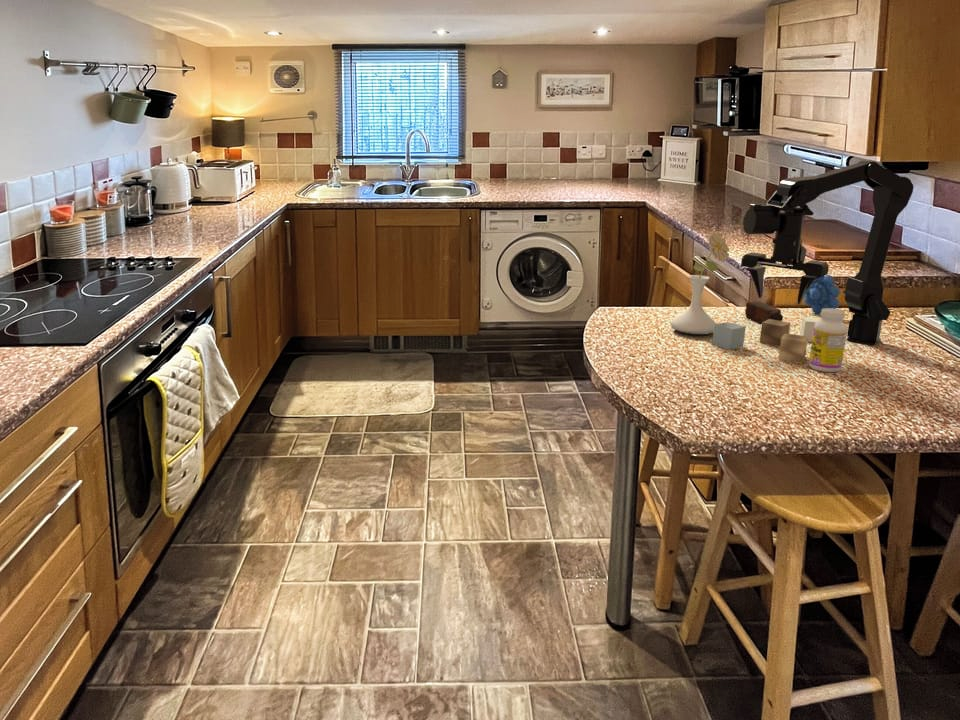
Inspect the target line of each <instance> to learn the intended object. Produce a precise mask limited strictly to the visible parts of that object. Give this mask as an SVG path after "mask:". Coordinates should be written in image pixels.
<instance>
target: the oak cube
mask: <svg viewBox="0 0 960 720" xmlns="http://www.w3.org/2000/svg"><path fill="white" fill-rule="evenodd" d="M807 341H808V336H801V335H800V334H799V335H798V334H791V333H789V334H786V333H785V334H784V335H783V337H782V338H781V344H780V346H779V352H778V353H779V354H778V360H779V361H786V362H791V363H792V362H793V363H799V364H800V363H802V364H803V362H804V361H805V359H806V354H807V349H808V348H807V347H808V342H807Z"/></svg>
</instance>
